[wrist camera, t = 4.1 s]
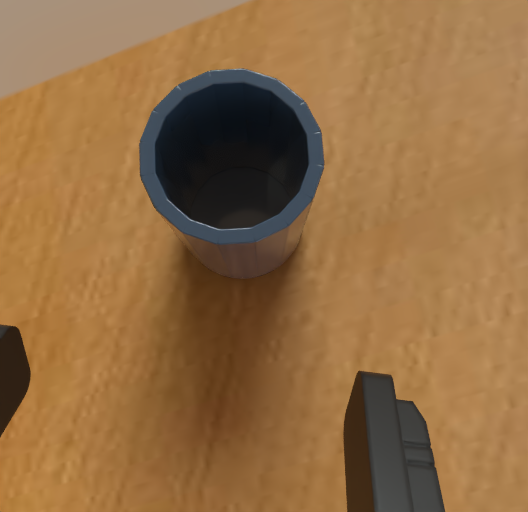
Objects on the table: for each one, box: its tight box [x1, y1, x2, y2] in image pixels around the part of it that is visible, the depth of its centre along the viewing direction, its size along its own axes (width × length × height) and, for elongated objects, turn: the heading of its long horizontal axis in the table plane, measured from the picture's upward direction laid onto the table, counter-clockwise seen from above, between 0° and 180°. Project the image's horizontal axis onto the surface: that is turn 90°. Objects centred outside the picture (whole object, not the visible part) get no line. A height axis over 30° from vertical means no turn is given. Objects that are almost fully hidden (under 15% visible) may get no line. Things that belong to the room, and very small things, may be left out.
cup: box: [139, 69, 324, 279], centre depth 20 cm, size 6×6×8 cm
